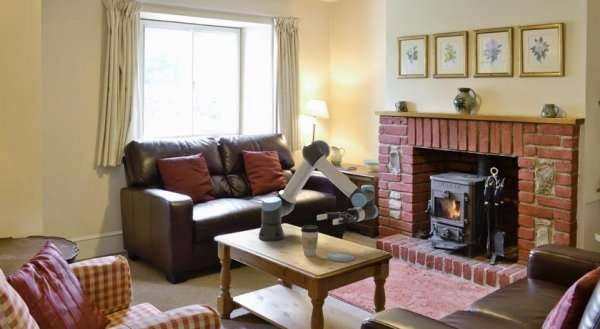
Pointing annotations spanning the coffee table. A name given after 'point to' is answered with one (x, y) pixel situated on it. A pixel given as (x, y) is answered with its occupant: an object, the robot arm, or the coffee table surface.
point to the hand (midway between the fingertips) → (325, 219)
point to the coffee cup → (309, 239)
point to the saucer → (340, 257)
